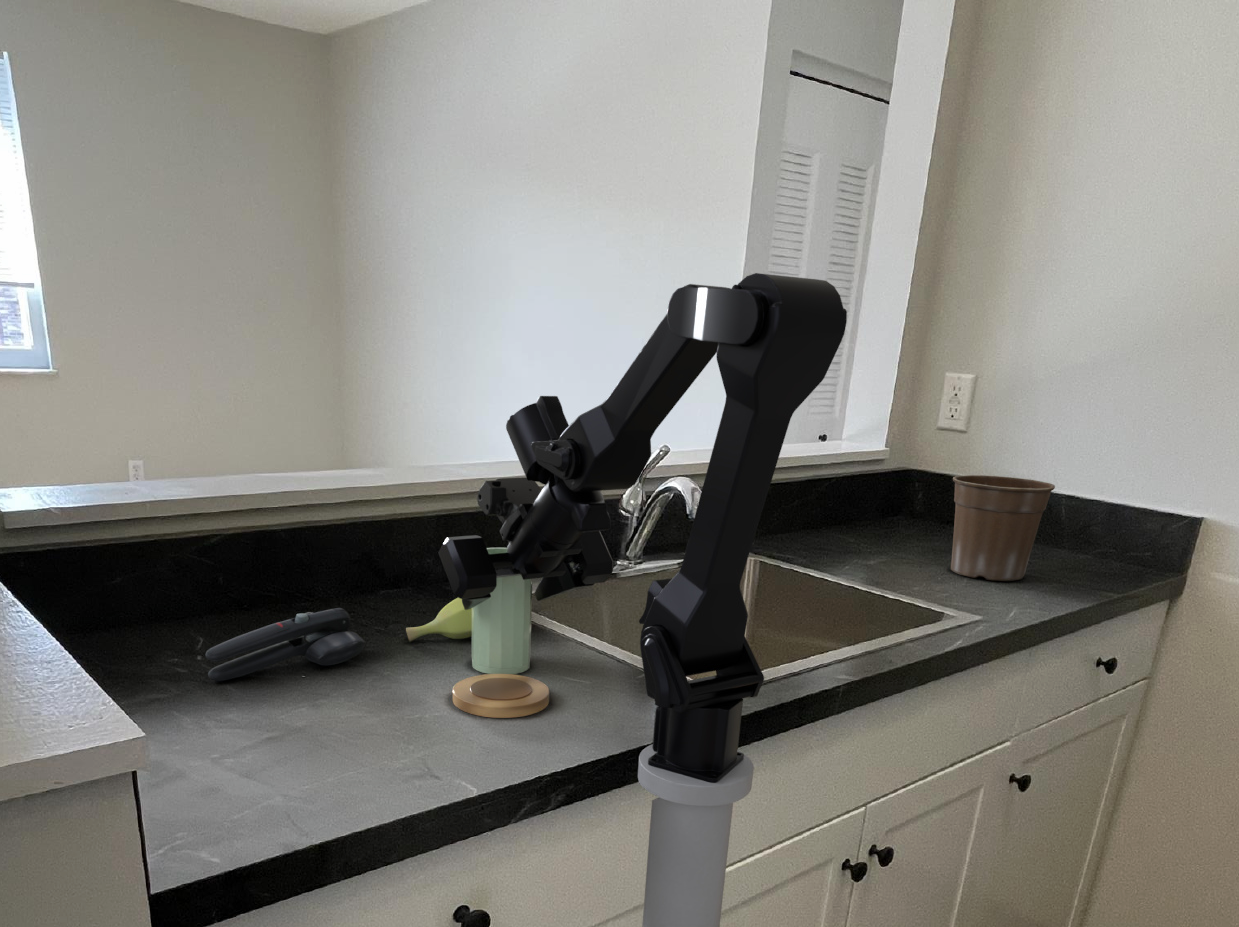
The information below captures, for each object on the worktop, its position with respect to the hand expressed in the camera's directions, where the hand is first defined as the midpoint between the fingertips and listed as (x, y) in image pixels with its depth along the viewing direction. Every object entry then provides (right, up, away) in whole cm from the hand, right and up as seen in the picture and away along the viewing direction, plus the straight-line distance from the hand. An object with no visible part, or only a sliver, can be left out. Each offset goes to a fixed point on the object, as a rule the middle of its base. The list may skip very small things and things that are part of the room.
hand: (501, 601), depth 109 cm
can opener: (-24, -8, -1) cm, 25 cm away
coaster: (+1, -11, -8) cm, 14 cm away
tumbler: (0, -7, +3) cm, 8 cm away
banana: (-7, -2, +17) cm, 19 cm away
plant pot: (+79, +11, +62) cm, 101 cm away
